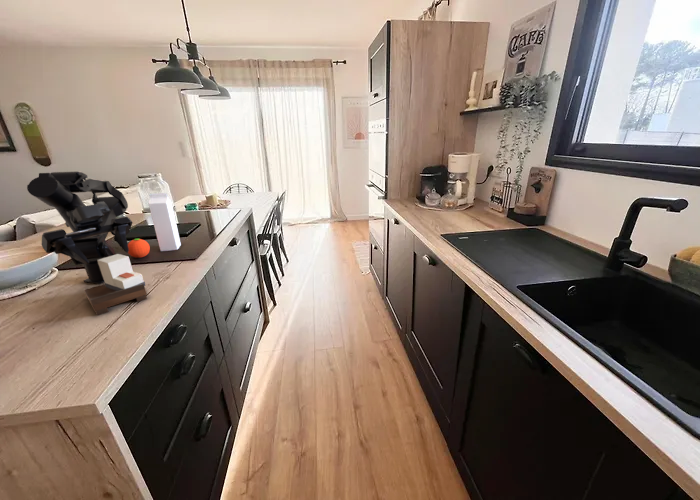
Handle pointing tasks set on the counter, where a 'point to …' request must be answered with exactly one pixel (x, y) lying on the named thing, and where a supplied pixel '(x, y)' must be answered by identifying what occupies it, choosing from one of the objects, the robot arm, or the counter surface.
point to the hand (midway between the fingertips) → (109, 257)
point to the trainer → (119, 272)
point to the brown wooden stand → (113, 296)
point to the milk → (164, 222)
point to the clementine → (138, 248)
